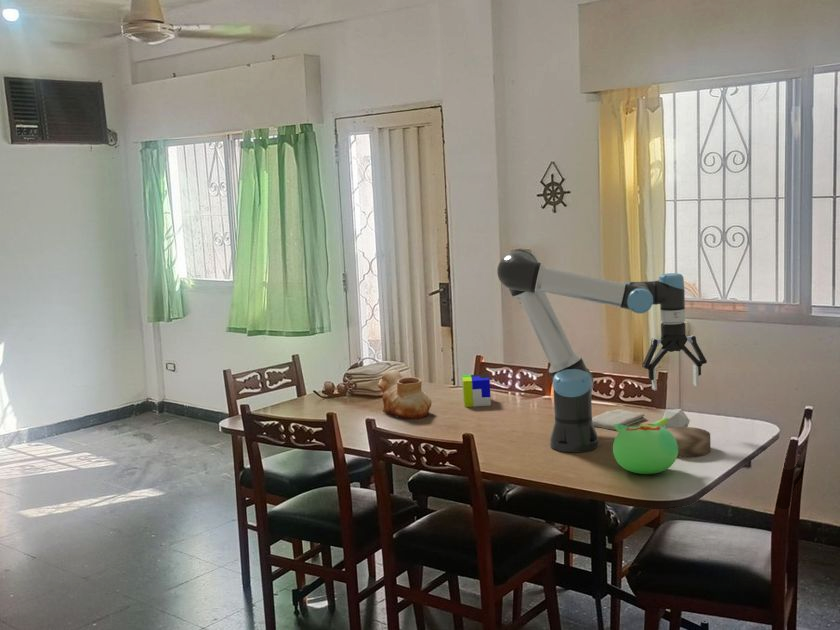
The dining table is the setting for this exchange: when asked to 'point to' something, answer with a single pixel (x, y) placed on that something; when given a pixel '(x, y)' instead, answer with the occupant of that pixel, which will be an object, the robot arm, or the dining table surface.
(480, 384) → the puzzle toy
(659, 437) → the green eared pot
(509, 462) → the dining table surface
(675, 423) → the die
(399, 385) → the ceramic vessel
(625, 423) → the washcloth
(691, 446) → the plinth
